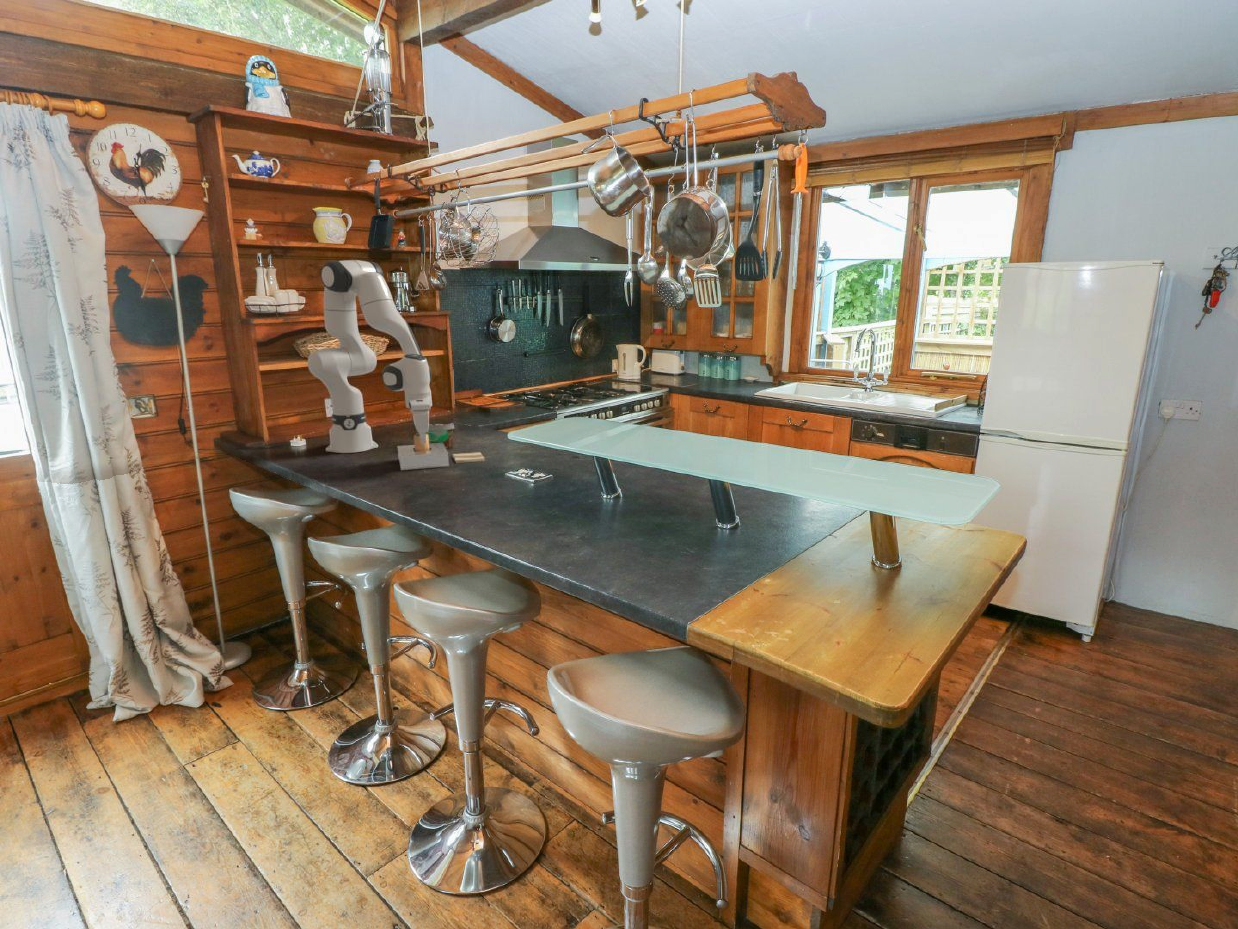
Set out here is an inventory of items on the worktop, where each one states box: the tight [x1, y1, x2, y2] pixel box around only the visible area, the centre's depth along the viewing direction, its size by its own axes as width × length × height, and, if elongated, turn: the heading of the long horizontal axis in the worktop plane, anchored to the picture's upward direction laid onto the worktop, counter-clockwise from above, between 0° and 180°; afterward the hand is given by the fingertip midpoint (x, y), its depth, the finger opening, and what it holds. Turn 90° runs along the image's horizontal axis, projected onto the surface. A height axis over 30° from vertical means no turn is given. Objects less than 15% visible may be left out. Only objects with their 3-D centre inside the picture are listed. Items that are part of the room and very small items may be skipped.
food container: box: [426, 422, 455, 451], centre depth 257 cm, size 12×6×10 cm, turn 73°
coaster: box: [452, 451, 486, 464], centre depth 243 cm, size 10×10×1 cm
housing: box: [397, 443, 450, 471], centre depth 237 cm, size 16×16×5 cm
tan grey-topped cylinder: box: [413, 432, 430, 452], centre depth 237 cm, size 5×5×11 cm
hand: (422, 440), depth 236 cm, fingers open, 8 cm apart
